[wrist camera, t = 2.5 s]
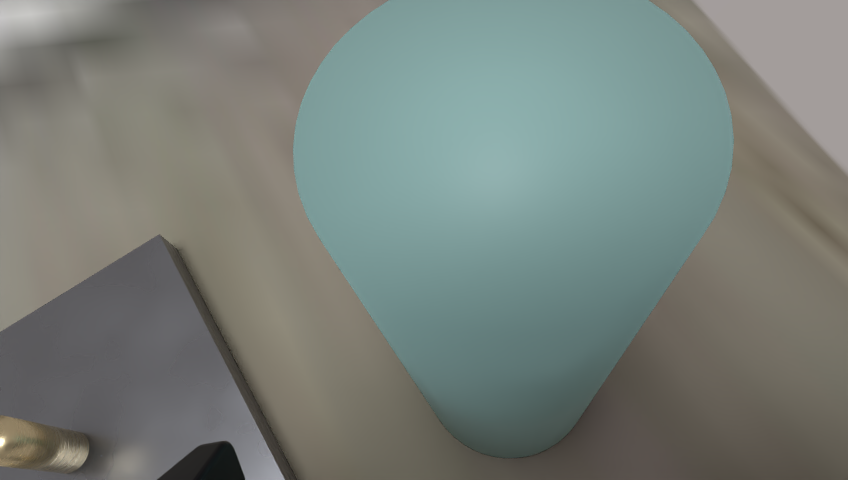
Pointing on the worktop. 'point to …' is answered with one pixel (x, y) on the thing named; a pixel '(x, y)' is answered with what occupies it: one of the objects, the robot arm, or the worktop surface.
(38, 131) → the worktop surface
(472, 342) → the post
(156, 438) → the metal base plate
